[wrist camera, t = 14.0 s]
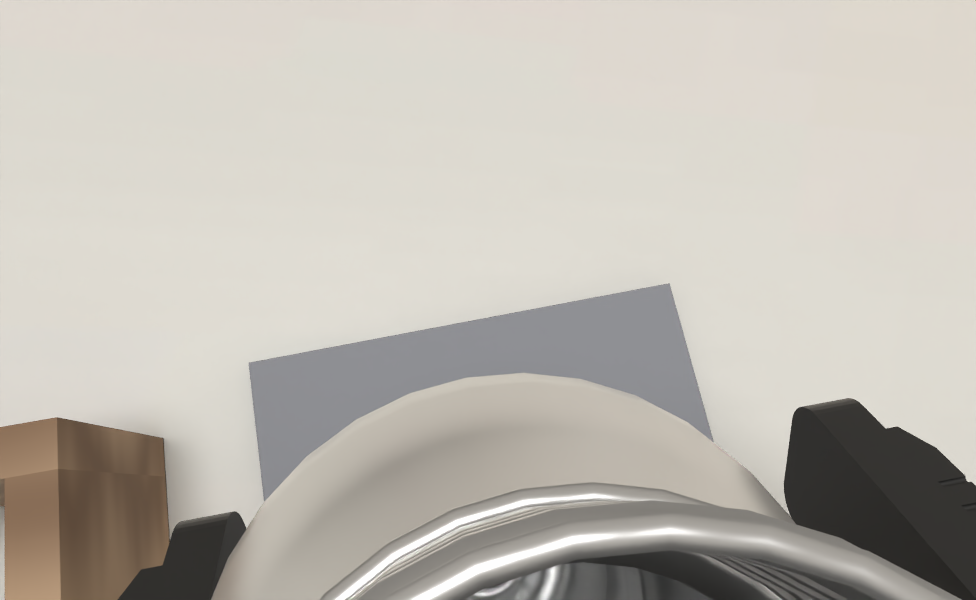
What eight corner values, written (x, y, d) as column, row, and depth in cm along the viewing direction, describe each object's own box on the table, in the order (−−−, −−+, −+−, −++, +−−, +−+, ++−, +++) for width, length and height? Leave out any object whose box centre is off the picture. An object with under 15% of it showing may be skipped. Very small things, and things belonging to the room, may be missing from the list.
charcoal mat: (309, 858, 20) (305, 867, 19) (253, 365, 23) (248, 362, 23) (791, 741, 21) (799, 747, 20) (665, 287, 24) (669, 283, 24)
